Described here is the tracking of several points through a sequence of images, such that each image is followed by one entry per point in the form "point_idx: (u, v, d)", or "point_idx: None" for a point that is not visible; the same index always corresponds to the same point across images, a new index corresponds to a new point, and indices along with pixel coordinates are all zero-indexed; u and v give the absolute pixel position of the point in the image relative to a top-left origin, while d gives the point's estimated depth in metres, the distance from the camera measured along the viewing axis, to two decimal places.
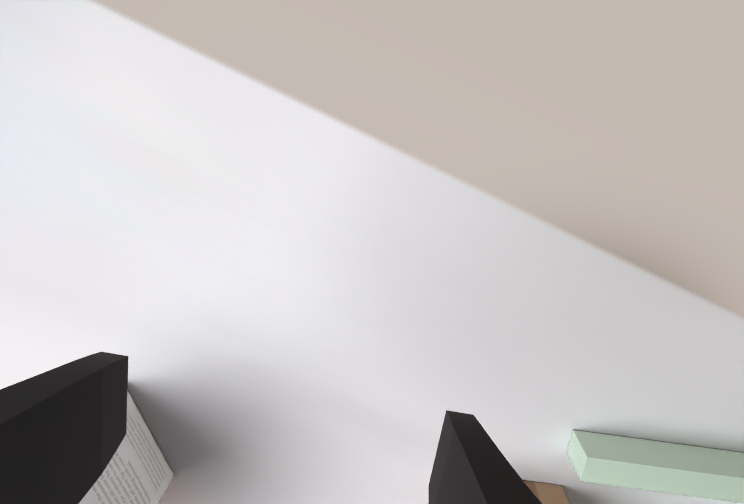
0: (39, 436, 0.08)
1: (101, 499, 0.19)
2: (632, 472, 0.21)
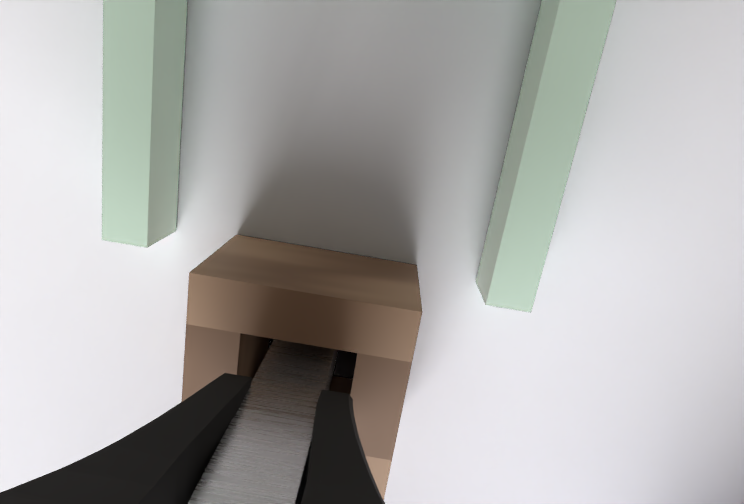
0: (199, 463, 0.08)
1: None
2: (119, 168, 0.13)
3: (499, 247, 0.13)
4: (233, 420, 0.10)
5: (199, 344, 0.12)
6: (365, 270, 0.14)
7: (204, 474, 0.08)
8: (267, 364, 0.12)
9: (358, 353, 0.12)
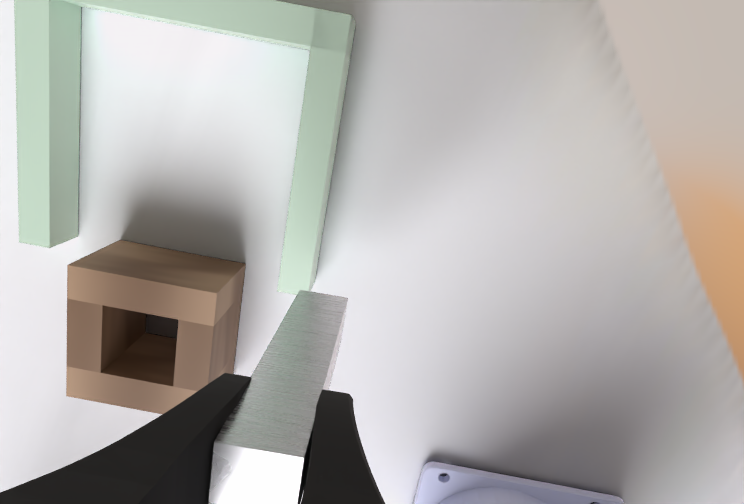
0: (199, 463, 0.08)
1: None
2: (29, 195, 0.19)
3: (282, 252, 0.19)
4: (250, 381, 0.11)
5: (76, 312, 0.18)
6: (200, 266, 0.20)
7: (227, 421, 0.09)
8: (278, 338, 0.13)
9: (179, 319, 0.18)
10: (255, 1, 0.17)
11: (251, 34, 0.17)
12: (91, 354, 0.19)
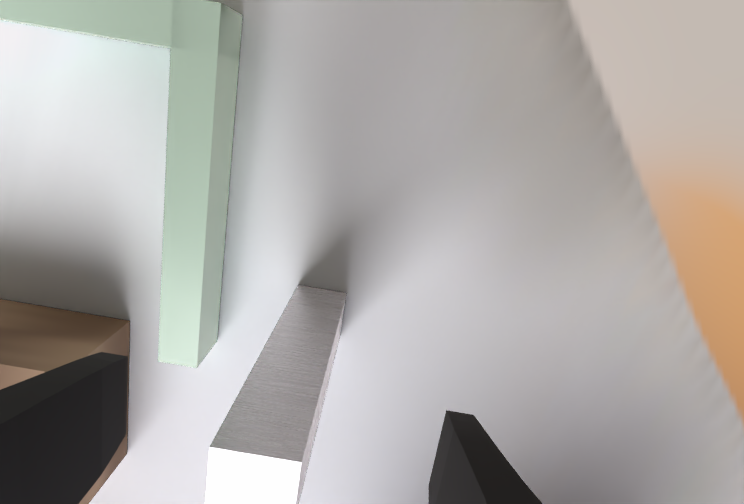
0: (39, 436, 0.08)
1: None
2: None
3: (160, 313, 0.15)
4: (246, 382, 0.11)
5: None
6: (63, 329, 0.16)
7: (222, 425, 0.09)
8: (276, 336, 0.13)
9: None
10: None
11: (91, 32, 0.13)
12: None
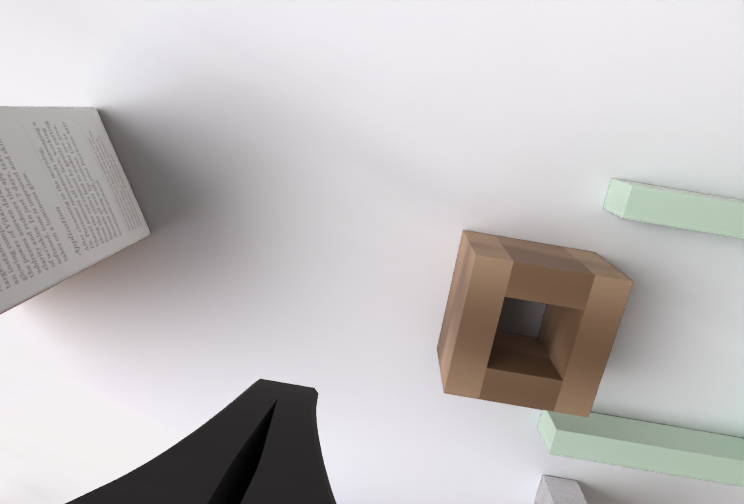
0: (244, 471, 0.08)
1: (60, 190, 0.16)
2: (683, 206, 0.18)
3: (593, 435, 0.21)
4: None
5: (578, 282, 0.17)
6: None
7: None
8: None
9: (562, 381, 0.18)
10: None
11: None
12: (527, 290, 0.17)
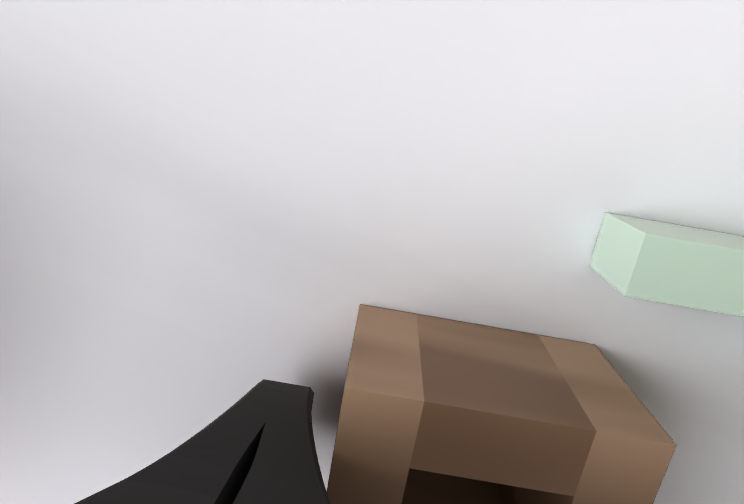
0: (249, 472, 0.08)
1: None
2: None
3: None
4: None
5: (561, 443, 0.08)
6: None
7: None
8: None
9: None
10: None
11: None
12: (455, 457, 0.08)
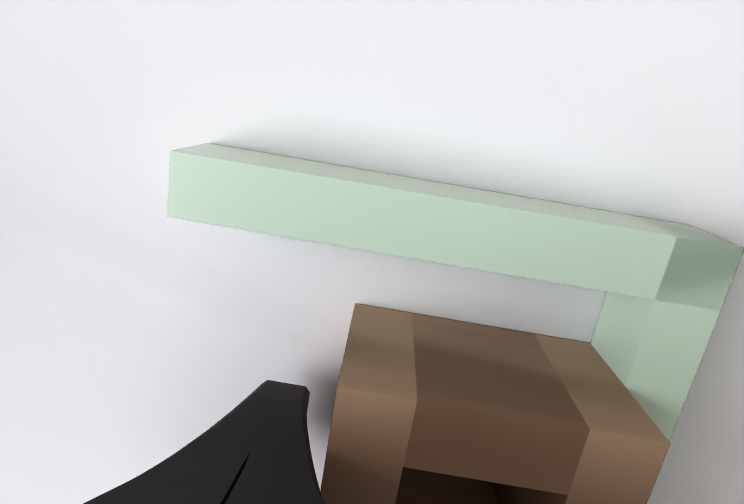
0: None
1: None
2: (277, 194, 0.09)
3: None
4: None
5: (554, 442, 0.08)
6: None
7: None
8: None
9: None
10: None
11: None
12: (448, 456, 0.08)
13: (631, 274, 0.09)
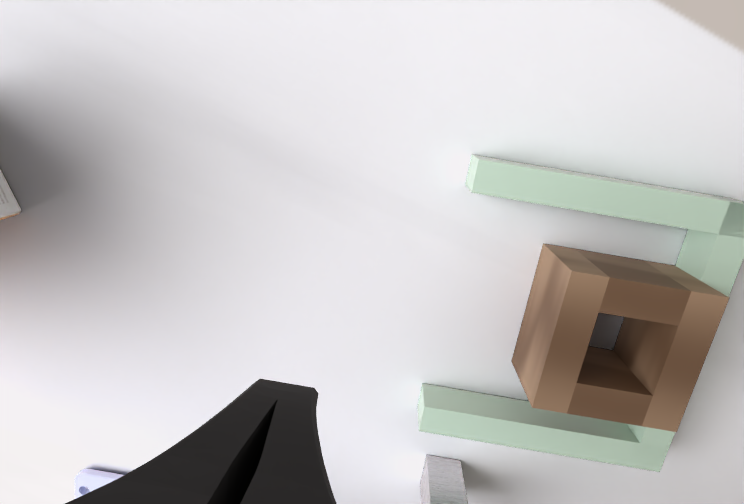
0: (244, 471, 0.08)
1: None
2: (530, 180, 0.18)
3: (461, 412, 0.21)
4: None
5: (673, 298, 0.17)
6: None
7: None
8: None
9: (652, 396, 0.18)
10: None
11: None
12: (621, 306, 0.17)
13: (706, 221, 0.18)
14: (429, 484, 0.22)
